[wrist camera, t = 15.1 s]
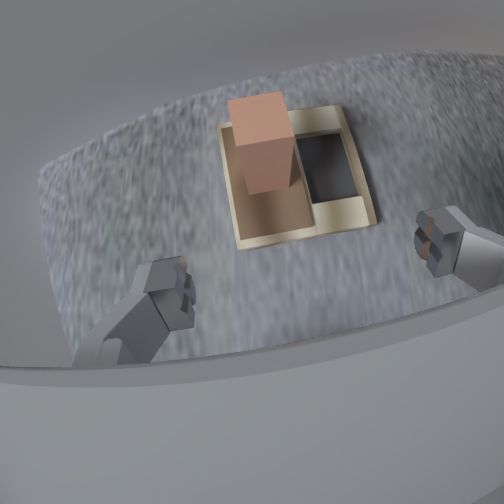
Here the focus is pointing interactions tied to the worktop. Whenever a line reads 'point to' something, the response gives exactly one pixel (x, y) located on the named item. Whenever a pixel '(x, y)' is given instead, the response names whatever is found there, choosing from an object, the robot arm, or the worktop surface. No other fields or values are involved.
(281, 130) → the terracotta block
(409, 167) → the worktop surface
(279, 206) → the hole board
